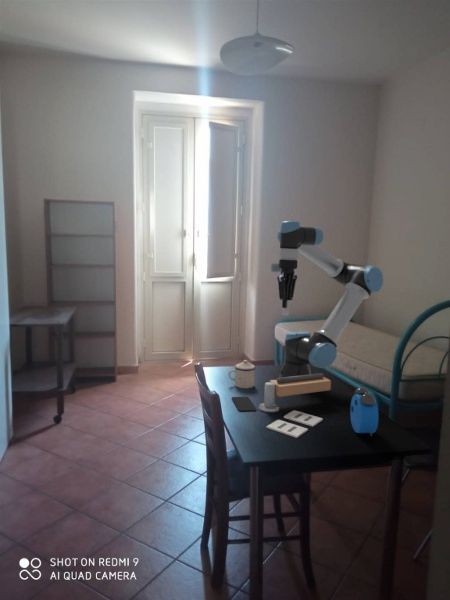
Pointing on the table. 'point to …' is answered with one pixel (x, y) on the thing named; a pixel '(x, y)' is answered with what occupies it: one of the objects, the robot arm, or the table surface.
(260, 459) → the table surface
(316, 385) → the wooden beam with rod
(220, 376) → the table surface
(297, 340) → the robot arm
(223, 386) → the table surface
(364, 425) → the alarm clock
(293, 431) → the plate
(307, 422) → the plate
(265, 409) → the base
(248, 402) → the phone
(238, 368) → the teacup with lid
